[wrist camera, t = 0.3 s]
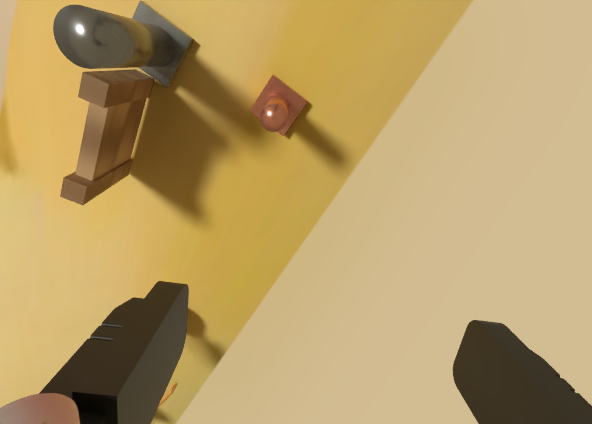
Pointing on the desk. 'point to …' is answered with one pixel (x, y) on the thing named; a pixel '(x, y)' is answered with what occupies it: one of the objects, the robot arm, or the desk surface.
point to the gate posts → (154, 54)
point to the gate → (107, 131)
